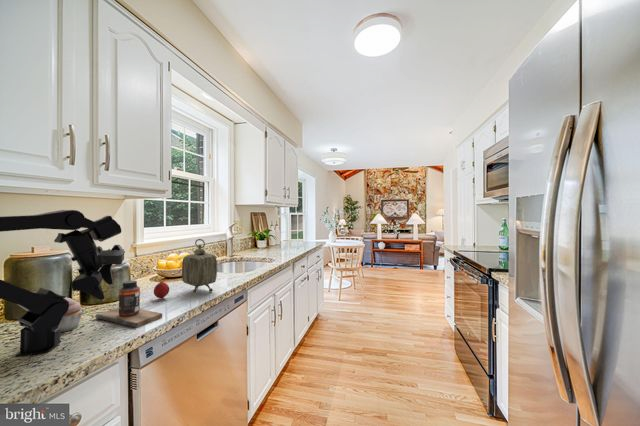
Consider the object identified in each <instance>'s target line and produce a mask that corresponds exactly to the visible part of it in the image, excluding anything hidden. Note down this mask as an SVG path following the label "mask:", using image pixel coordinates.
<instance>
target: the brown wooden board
mask: <svg viewBox="0 0 640 426" xmlns="http://www.w3.org/2000/svg"><path fill="white" fill-rule="evenodd" d="M94 317H95V318H96V319H99V320H104V321H108V322H112V323H115V324H121V325H124V326H129V327H133V328H139V327H142V326H143V325H144V326H145V325H147V324H149V323H151V322H154V321H157V320H160V319H162V318H163V313H161V312H157V311H152V310H146V309H143V308H142V309H141V308H140V309H139V312H138V313H137V314H135V315H131V316H120V315H119V307H116V308H113V309H110V310H107V311H106V310H105V311H103V312H100V313H96V314H95V315H94Z"/></svg>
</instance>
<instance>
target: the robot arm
mask: <svg viewBox="0 0 640 426" xmlns="http://www.w3.org/2000/svg"><path fill="white" fill-rule="evenodd" d="M38 229H45V230H61V231H65V230H66V231H69V232H66V233H62V232H59V233H57V236H56V237H55V239H54V241H53V242H54V243H59V244H63V243H66V245H67V246H68V248H69V250H70V252H71V253H72V257H71V259H70V260H72V262H75V261H76V263H77V265H78V266H79V268H78V270H77V272H78V273H79V274H78V275H76V276H75V278H74V279H73V280H72V281H71V283H70V285H69V286H70V288H71V289H72V291H73V292H75V291H77V292H82V293H85V294H88V295H90V296H92V297H93V298H95V299H97V300H99V301H102V300H105V295H104V291H103V288H102V285H101V283H102V281H104V283H106V284H108V285H109V286H110V285H113V284H114V280H113V278H114V277H113V271H112V267H113V266H114V265H115V266H119V265H122V263H123V262H124V260H125V253H126V250H124V249H125V248H123V247H122V246H121V245H120V244H114V245H113V246H112V248H108V249H106V250H105V249H103V248H102V246H101V245H98V246H97V245H96V243H95V241H98V242H100V243H101V242H105V241H107V240H109V239H111V238H113V237H115V236H118V235H120V234H121V233H122V227H121V225H120V223H118V222H117V221H116V220H115V218H114V219H113V217H112V215H105V216H103V217H101V218H99V219H96V220H94V221H93V220H91V219H89V218H87V217H86V216H85V215H84V214H83V212H81V211H80V210H78V209H77V210H76V209H60V210H55V211H54V210H53V211H48V212H44V213H39V214H33V215H32V214H31V215H30V214H29V215H28V214H27V215H26V214H25V215H7V216H0V232H11V231H13V232H14V231H25V230H38ZM79 229H81V230H79ZM65 297H66V298H67V296H65V295H62V294H59V293H56V292H54V291H52V290H49V289H46V288H42V287H39V288H38V290H37V292H36V291H31V290H29V289H26V288H23V287H21V286H18V285H16V284H13V283H10V282H8V281H5V280H2V279H0V299H2V300H4V301H6V302H7V301H8V302H10V303H12V304H16V305H17V306H19V307H20V308H22V309H23V310H24V311H26V312H25V313H23V315H21V316H20V317H19V318H18V319H17V321H18V323H19V325H20V327H23V328H22V329H20V334H19V335H20V336H19V337H20V341H19V343H20V344H19V346H20V347H19V351H18V352H17V353H15V355H14V356H15V357H22V356H23V357H24V356H30V355H37V354H46V353H49V352H51V351H52V350H53V349H54V348H55V347H57V346H58V345H59V344H60V343H62V340H61V332H60V328H58V326H59V324H60V322H61V320H62V317H63V316H64V315H65V314H66V312H67V311H68V309H69V302H68V301H67V300H65V299H63V298H65Z"/></svg>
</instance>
